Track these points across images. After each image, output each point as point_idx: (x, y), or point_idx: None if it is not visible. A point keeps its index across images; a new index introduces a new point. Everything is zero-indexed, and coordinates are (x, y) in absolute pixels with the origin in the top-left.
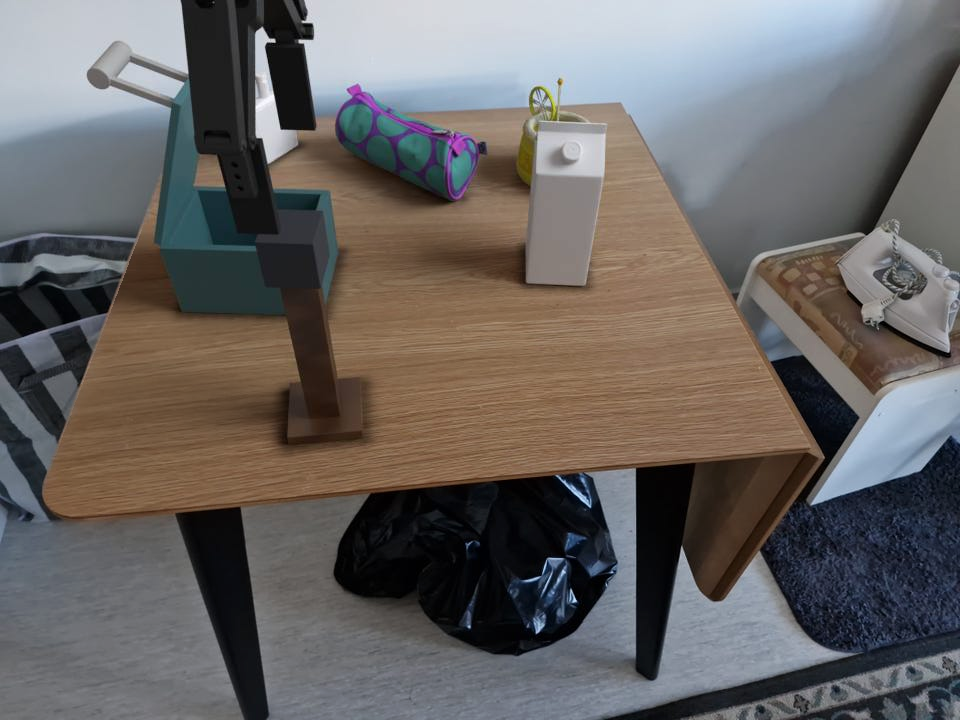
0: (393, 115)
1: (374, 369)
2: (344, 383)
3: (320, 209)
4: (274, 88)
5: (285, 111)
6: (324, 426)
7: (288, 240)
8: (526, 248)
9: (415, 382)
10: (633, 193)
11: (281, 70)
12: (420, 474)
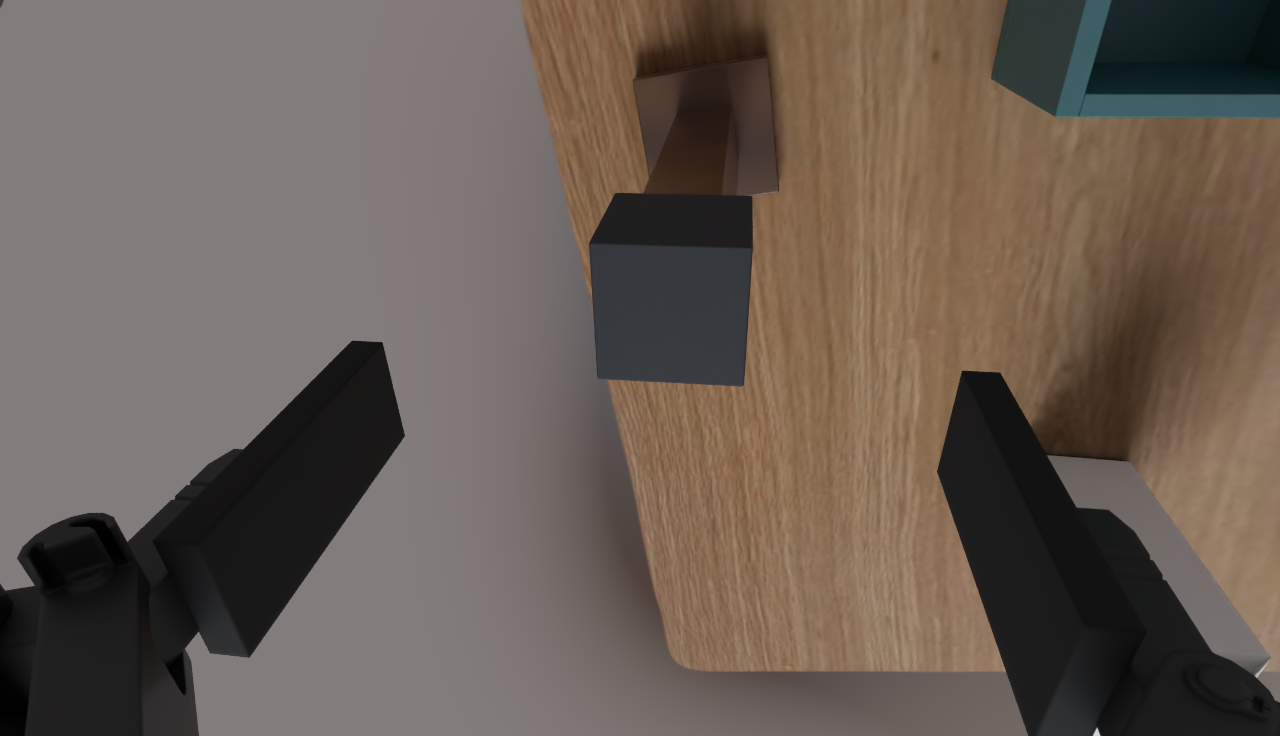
0: None
1: (816, 205)
2: (762, 166)
3: (1275, 107)
4: (1009, 480)
5: (973, 440)
6: (660, 143)
7: (604, 324)
8: (1101, 473)
9: (780, 276)
10: None
11: (1024, 574)
12: None
